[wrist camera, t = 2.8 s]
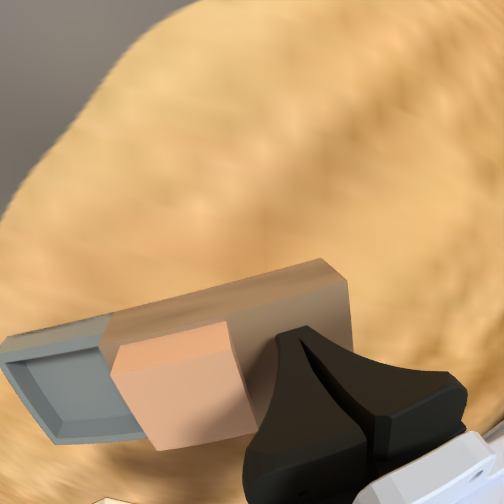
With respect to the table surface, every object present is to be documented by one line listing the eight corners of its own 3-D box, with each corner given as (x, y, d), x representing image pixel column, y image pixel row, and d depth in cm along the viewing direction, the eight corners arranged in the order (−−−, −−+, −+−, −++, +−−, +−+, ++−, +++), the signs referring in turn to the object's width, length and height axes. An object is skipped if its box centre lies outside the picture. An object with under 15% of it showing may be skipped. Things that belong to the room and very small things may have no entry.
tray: (162, 412, 17) (160, 436, 15) (62, 424, 16) (54, 444, 14) (113, 312, 15) (103, 332, 13) (8, 336, 14) (-8, 354, 12)
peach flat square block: (251, 401, 14) (259, 431, 12) (159, 420, 13) (157, 451, 11) (226, 320, 12) (231, 348, 10) (119, 345, 12) (110, 375, 10)
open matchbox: (335, 367, 18) (355, 399, 15) (162, 412, 17) (159, 449, 14) (321, 258, 16) (347, 280, 13) (113, 312, 15) (97, 344, 12)
